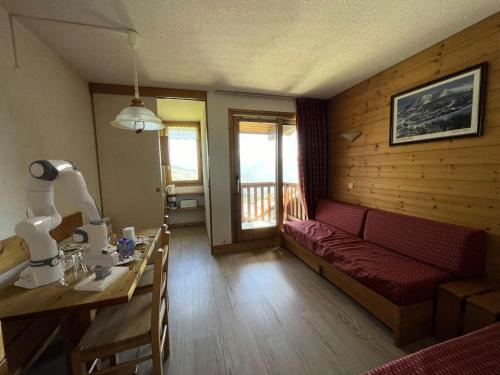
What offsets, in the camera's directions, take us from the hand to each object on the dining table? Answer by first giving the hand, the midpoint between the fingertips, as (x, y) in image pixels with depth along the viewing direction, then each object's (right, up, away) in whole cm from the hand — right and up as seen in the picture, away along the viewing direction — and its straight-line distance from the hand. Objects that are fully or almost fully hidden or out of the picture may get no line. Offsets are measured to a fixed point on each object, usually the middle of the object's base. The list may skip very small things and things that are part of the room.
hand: (101, 271), depth 122 cm
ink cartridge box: (-4, -1, +32) cm, 33 cm away
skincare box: (-10, +1, +48) cm, 49 cm away
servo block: (+1, -5, +1) cm, 5 cm away
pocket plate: (+1, -5, +1) cm, 5 cm away
